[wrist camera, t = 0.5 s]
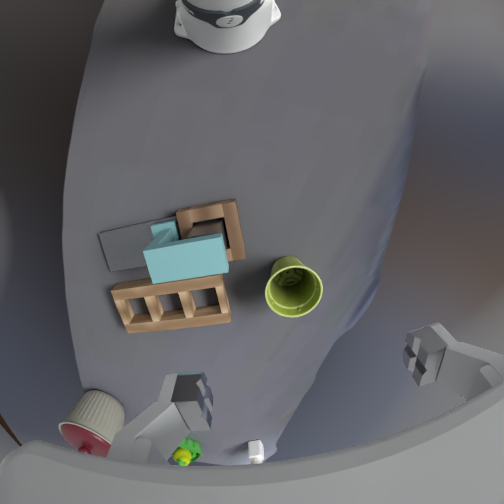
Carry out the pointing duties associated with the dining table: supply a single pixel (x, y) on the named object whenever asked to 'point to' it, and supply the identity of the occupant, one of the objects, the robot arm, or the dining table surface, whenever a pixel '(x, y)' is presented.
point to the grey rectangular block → (209, 229)
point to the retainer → (183, 254)
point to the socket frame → (140, 235)
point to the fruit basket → (187, 452)
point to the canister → (93, 423)
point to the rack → (171, 318)
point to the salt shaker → (255, 451)
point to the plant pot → (292, 288)
